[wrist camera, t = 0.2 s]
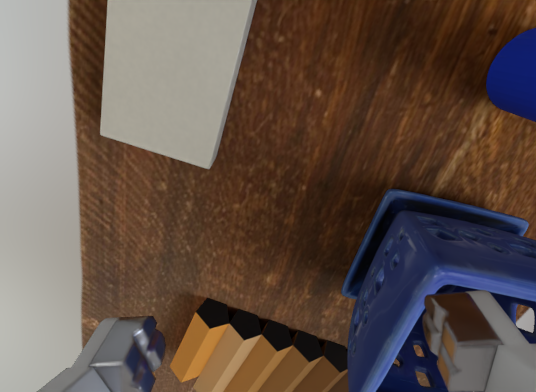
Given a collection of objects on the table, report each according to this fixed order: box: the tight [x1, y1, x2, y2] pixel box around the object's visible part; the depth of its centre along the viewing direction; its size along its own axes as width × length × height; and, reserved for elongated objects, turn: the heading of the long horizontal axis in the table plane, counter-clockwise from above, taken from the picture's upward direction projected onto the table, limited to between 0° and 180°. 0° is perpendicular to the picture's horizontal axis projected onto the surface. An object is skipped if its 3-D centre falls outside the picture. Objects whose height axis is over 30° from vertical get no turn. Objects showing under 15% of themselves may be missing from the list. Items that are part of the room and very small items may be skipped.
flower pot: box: [341, 189, 536, 392], centre depth 22 cm, size 13×13×12 cm
